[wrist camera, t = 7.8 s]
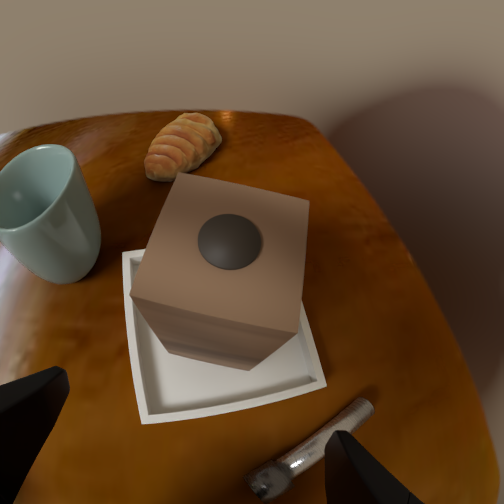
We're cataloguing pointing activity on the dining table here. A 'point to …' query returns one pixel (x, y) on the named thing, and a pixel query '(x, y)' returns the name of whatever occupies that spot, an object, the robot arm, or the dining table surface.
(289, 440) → the dining table surface
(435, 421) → the dining table surface
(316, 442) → the flashlight
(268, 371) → the tray
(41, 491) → the dining table surface
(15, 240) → the cup
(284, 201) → the block
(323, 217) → the dining table surface
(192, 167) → the pastry
